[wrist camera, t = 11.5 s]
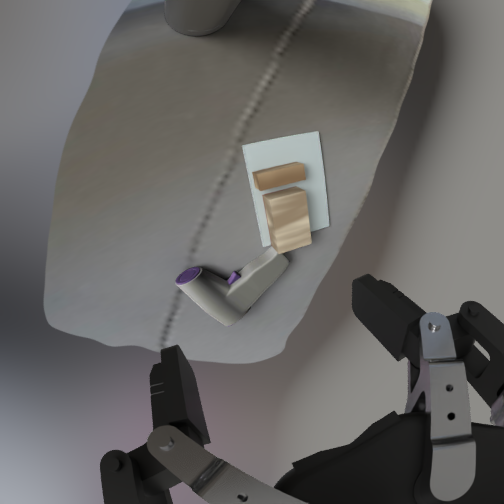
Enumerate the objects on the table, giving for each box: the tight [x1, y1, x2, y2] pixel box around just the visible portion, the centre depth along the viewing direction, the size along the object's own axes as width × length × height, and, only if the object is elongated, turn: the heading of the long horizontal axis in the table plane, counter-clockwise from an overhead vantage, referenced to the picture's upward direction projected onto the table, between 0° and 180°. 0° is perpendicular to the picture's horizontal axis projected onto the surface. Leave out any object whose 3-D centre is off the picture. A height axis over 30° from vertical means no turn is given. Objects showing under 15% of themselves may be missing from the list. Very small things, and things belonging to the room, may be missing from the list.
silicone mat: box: [242, 131, 329, 247], centre depth 41 cm, size 16×12×1 cm
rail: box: [252, 162, 306, 191], centre depth 38 cm, size 2×7×2 cm, turn 101°
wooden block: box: [262, 186, 312, 254], centre depth 41 cm, size 3×6×8 cm
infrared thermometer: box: [176, 246, 290, 326], centre depth 43 cm, size 5×12×15 cm
